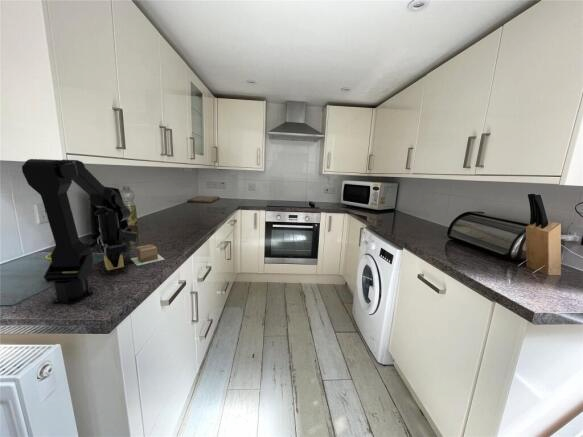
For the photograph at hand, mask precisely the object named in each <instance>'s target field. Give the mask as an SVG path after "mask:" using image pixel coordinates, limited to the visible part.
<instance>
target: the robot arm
mask: <svg viewBox="0 0 583 437" xmlns="http://www.w3.org/2000/svg"><path fill="white" fill-rule="evenodd" d="M21 170H22V174H23V177H24V179H25V180H26V182H27V184H28V186H30V187H31V189H33V190H34V191H36V193H37V194H39V195H40V197H41V201H42V203H43V204H42V205H43V207H44V210H45V211H44V212H45V214H46V217H47V221H48V223H49V227H50V231H51V233H52V237H53V240H54V244H55V247H54V249H52V251H51V253H52V254H51V253H50V254H51V261H52V262H51V263H50V264H49V266H48V268H47V270H46V272H45V274H44V276H43V278H44V280H45V282H46V283H53V282H54V283H53V284H54V290H55V296H56V298H55V299H53V300H52V301H51V302H52V303H53V302H59V303H58V304H67V303H70V304H71V305H72V304H73V303H74V304H76V303H77V301H78V302H79V301H82V300H83V299H84V298H86V297H89V296H90V295H91V294H93V293H94V292H93V290H90V288H89V284H88V277H90V276H91V275H92V273H93V263H94V258H93V252H92V249H91V245H90V244H89V242H82V241H81V240H80V239H79V234H78V230H77V227H76V223H75V219H74V216H73V210H72V208H71V204H70V203H71V202H70V200H69V196H68V190H69V189H70V188H71V185H72V182H74V183H75V184H76V185H77V186H79V188H80V189H82V190H83V191H84V192H85V193H86V194H87V195H89V198H88V200H89V201H90V203H91V204H92V205H93V206H94V207H95V208H98V209H97V210H96V211H95V212H94V216H98V218H97V219H98V225H99V227H98V231H99V232H100V233H99V234H100V235H99V236H98V237H97V238H96V240H97V241H96V242H97V244H98V245H99V247H100V249H101V250H102V252H103V254H105V255H106V256H107V258H108V259H109V261H110V262H111V264H112V265H113V266H114V267H118V263H119V258H120V254H121V255H122V253H125V252H128V251H129V249H128V245H127V244H126V243H124V241H130V242H131V241H132V242H133V243H135V242H137V239H138V236H139V233H138V232H136V231H133V230H132V228H131V227H127V226H126V227H125V228H124V229H122V228H121V227H120V222H122V221H125V220H127V219H129V218H130V217H131V214H132V213H131V211H130V209H129V208H128V207H126V205H125V203H124V202H123V200H122V198H121V196H120V195H119V193H118V192H116V191H115V190H114V189H112V188H110V187H107V186H105V185H103V184H102V183H101V182H100V180H98V179H97V178H96V177H95V176H94V175H93V173H92V172H90V171H89V170H88V168H86V167H85V164H84V162H83V161H82V160H79V159H46V158H45V159H41V158H39V159H38V158H29V159H27V160H26V161H25V162H24V163H23V164H22V165H21ZM67 271H78V273H62V272H67Z"/></svg>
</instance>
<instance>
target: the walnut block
mask: <svg viewBox="0 0 583 437" xmlns="http://www.w3.org/2000/svg"><path fill="white" fill-rule="evenodd" d="M136 257H137V259H138V260H139V261H140V262H141V263H143V262H147V261H152V260H156V259H158V248H157V246H155V245H154V244H147V245H140V246H136Z"/></svg>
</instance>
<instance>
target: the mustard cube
mask: <svg viewBox="0 0 583 437" xmlns="http://www.w3.org/2000/svg"><path fill="white" fill-rule="evenodd" d="M123 257H124V255H123V254H122V253H121V254H120V258H119V263H118V267H114V266H113V265H112V264H111V262H110V261H109V259H108V258H107V256H106V255H103V260H104V267H105V269H106V270H107V271H111V270H116V269H120V268H124V267H125V264H124V258H123Z"/></svg>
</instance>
